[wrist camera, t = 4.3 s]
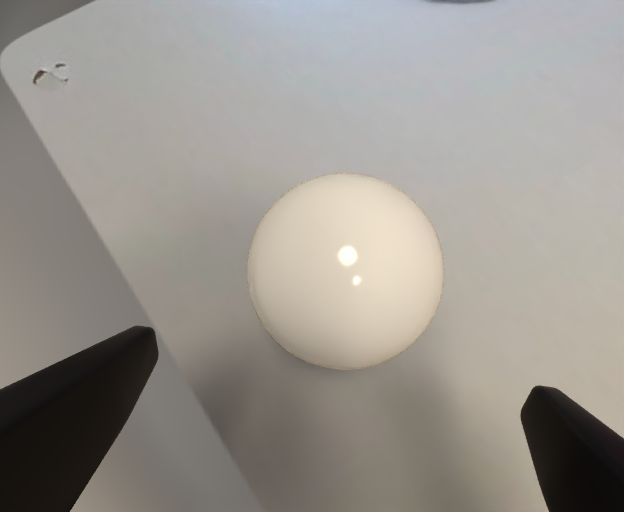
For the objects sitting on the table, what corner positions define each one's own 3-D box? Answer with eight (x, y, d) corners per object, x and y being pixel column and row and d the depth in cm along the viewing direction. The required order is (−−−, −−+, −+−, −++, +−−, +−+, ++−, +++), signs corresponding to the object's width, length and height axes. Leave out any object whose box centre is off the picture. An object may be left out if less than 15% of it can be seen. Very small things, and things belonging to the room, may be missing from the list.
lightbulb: (377, 250, 19) (441, 112, 9) (402, 359, 17) (524, 345, 7) (273, 265, 19) (215, 144, 9) (285, 377, 17) (229, 391, 7)
